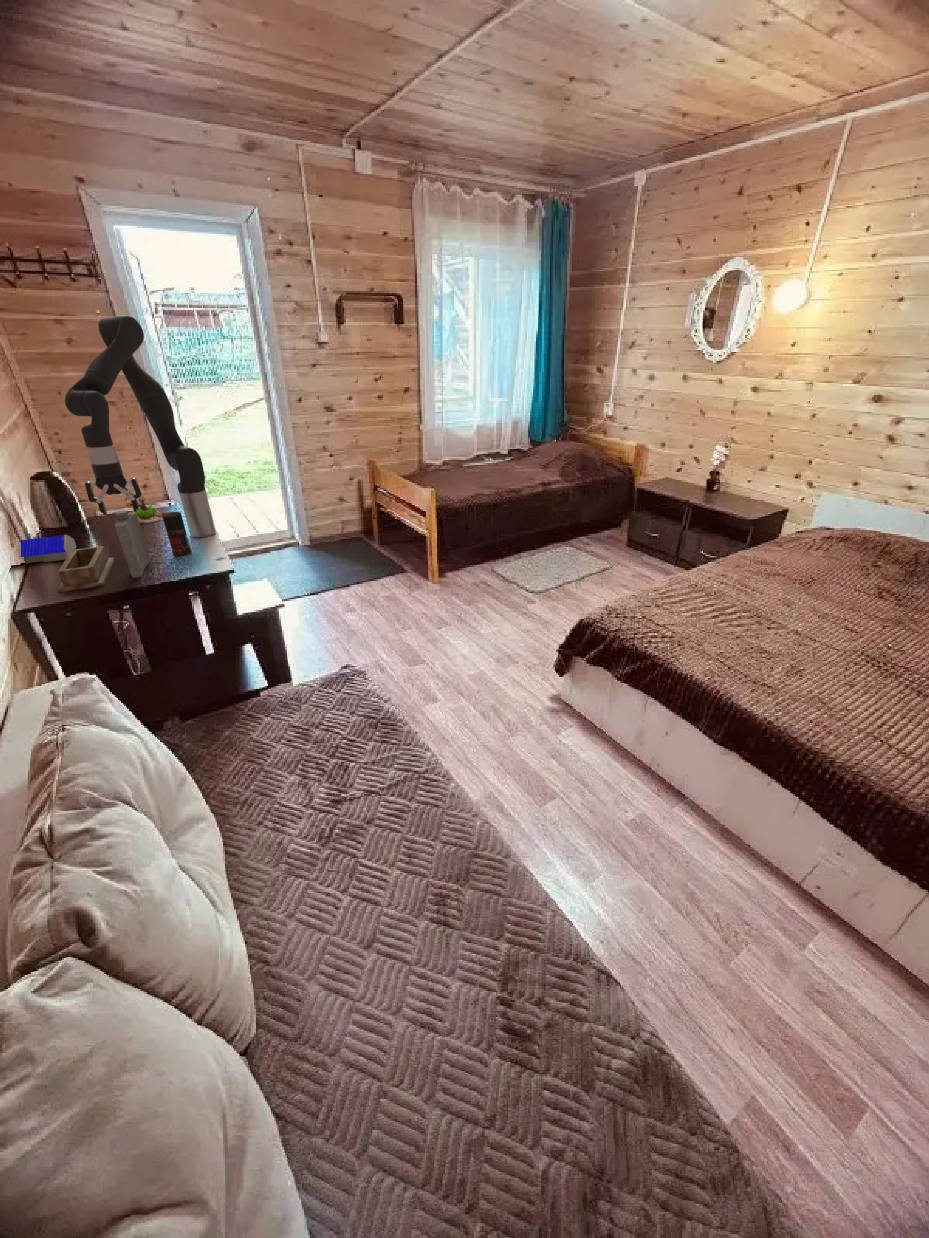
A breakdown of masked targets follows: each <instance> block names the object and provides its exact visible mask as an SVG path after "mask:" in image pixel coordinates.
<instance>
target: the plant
mask: <svg viewBox="0 0 929 1238" xmlns="http://www.w3.org/2000/svg"><path fill="white" fill-rule="evenodd" d="M146 501H147V498H146V496H142V495H141V497H140V498H138V499H137V502H139V503H141V504H139V503H138V506H139V508H138V510H137V512H136V514H137V518H138V521H139V524H142V525H148V523H149V524H153V523H152V522H154V523H157V522H156V521H158V522H160V521H159V520H162V521H163V517H162V515H163V514H165V513H169V512H170V511H163V512H159V510H160V509H158V506H156V507H154V505H153V504H149V505H147V506H146V503H145V502H146ZM127 506H128V508H133V506H132V503H131V502H130V503H128V504H127ZM153 508H154V509H153ZM131 512H134V510H131ZM159 513H160V514H159Z"/></svg>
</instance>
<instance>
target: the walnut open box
mask: <svg viewBox="0 0 929 1238" xmlns="http://www.w3.org/2000/svg"><path fill="white" fill-rule="evenodd" d="M114 562H115V558H114V557H108V555H107V552H106V549H105V546H104V545H102V546H101V545H100V546H93V547H84V548H77V549H75V550H72V551H71V552H70V554H69V555H68V557H67V559H65V560H64V561H63V563H62V564H61V567H59V570H58V571H57V572H58V575H59V578H60V580H61V583H60V584H59V585H58V588H57V591H58V593H62V592H69V591H77V590H83V589H91V588H96V587H102V586H103V587H104V586H105V583H106V581H107V579H108V576H109V574H110V571H111V570H112V567H113V564H114Z"/></svg>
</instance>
